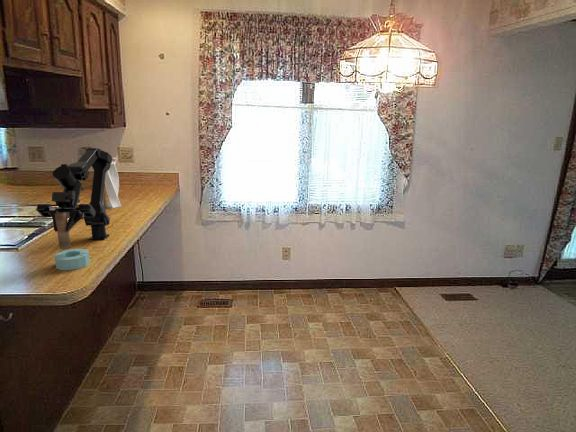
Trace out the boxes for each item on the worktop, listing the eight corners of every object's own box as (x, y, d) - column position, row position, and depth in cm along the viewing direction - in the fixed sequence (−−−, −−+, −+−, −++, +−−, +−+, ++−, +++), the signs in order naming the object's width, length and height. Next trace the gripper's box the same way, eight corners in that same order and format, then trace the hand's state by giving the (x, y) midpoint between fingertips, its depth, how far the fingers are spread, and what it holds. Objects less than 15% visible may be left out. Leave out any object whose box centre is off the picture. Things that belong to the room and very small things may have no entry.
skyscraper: (115, 204, 230) (111, 156, 223) (124, 206, 227) (120, 158, 219) (102, 207, 223) (97, 158, 216) (112, 209, 219) (107, 159, 212)
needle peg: (60, 246, 144) (55, 212, 140) (71, 245, 145) (66, 211, 142) (59, 249, 141) (54, 215, 137) (70, 248, 142) (65, 214, 139)
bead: (66, 258, 151) (65, 248, 149) (95, 258, 151) (93, 249, 150) (49, 269, 140) (48, 259, 139) (80, 270, 140) (79, 260, 139)
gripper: (34, 182, 140) (22, 220, 132) (88, 182, 141) (79, 220, 134) (48, 198, 149) (37, 235, 142) (99, 198, 151) (91, 234, 143)
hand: (61, 231), depth 140 cm, fingers closed on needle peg, 4 cm apart
